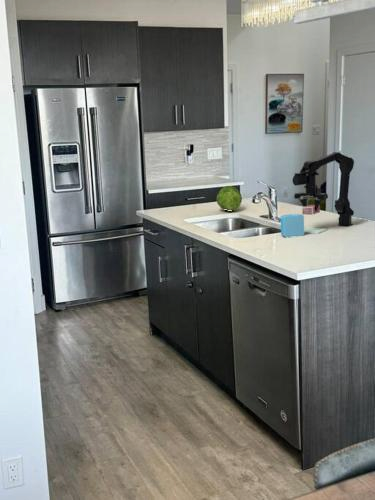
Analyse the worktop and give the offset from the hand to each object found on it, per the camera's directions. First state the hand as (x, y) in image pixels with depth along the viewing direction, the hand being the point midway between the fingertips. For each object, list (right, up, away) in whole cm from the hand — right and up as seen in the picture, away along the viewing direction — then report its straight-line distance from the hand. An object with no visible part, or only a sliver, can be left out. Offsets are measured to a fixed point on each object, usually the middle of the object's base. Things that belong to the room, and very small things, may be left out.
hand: (311, 211), depth 341 cm
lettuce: (-41, +6, +92) cm, 101 cm away
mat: (+1, -11, +2) cm, 12 cm away
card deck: (0, -1, 0) cm, 1 cm away
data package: (-12, -15, -7) cm, 20 cm away
